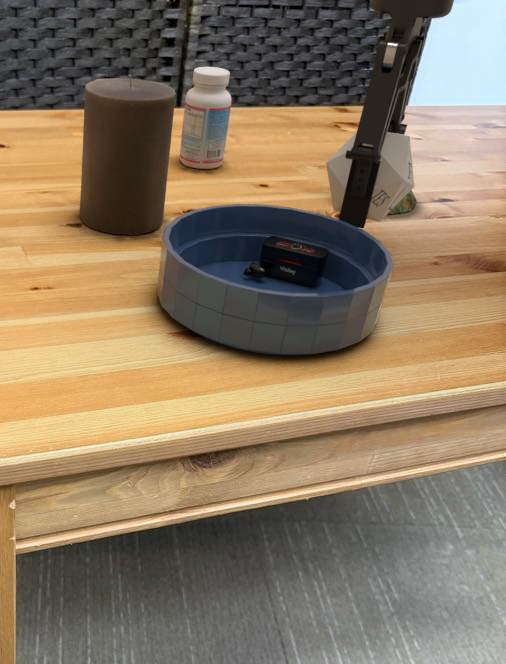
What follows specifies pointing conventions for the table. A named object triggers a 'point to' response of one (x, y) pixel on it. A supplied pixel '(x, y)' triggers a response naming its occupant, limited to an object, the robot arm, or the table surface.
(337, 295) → the bowl
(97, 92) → the pillar candle
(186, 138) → the pill bottle
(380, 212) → the die
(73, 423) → the table surface
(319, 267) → the wireless earbuds
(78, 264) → the table surface
